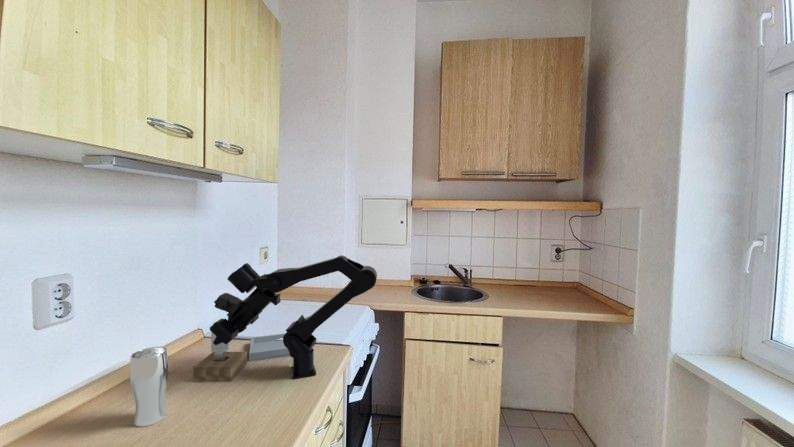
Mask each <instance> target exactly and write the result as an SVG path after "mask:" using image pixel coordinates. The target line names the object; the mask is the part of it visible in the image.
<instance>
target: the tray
mask: <svg viewBox="0 0 794 447" xmlns="http://www.w3.org/2000/svg"><path fill="white" fill-rule="evenodd" d="M285 334H286V333H285V332H283V333H279V334H278V333H277V334H269V335H261V336H253V337H251V338H250V347H249V353H248V360H249V362H254V361H256V362H257V361H261V360H268V359H277V358H283V357H289V356H290V353H289V351H288V348H286V347H285V345H284V343H283V341H276V340H277V339H280V338H283V337H284V335H285ZM290 357H291V356H290Z"/></svg>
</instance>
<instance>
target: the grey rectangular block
mask: <svg viewBox="0 0 794 447" xmlns="http://www.w3.org/2000/svg"><path fill="white" fill-rule="evenodd" d="M210 332H211V331H210ZM215 338H216V335H215V334H214V333H212V332H211V339H210V341H211V343H210V344H211V347H210V348H211V350H210V351H211V353H212V352H214V361H225V355H226V352H228V350H229V343H228V344H224V343H220V344H218V345H214V344H213V342H214V340H215Z"/></svg>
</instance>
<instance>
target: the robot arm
mask: <svg viewBox="0 0 794 447" xmlns="http://www.w3.org/2000/svg"><path fill="white" fill-rule="evenodd" d="M335 272H339V273H341V274H343V275H344V276H345V277H346V278H347V279H349V280H350V281H349V282H348V283H347V284H346V286H344V287H343V288H341V289H340V291H339V292H337V293H336V294H335V295H334V296H332V297H331V298H330V299H329V300H328V301H326V302H325V303H324V304H323V305H322V306H320V308H317V310H316V311H314V312H313V313H312V314H311V315H309V316H306V317H305V316H304V315H303V314H301V315H300V316H299V317H298V319H297V320H295V321H292V322H291V324H290V325H289V326H288V327H287V328H286V329H285V332H286V334H285V335H284V337H283V343H284V345H285V347H286V348H288V351H289V353H290V358H292V367H291V368H290V369H291V378H292V379H293V380H294V379H299V378H306V377H312V376H316V375H317V371H316V368H315V364H314V362H315V361H314V360H315V359H314V358H315V357H314V350H315V349H314V346H315V345H316V343H317V340H318V339H317V338H316V337H315V335H313V333H314V332H315V331H316V330H317V328H318V327H320V326H321V325H323V323H325V322H326V321H327V320H329V319H330V318H331V317H332V316H333V315H335V313H337V312H338V311H339V310H340V309H342V308H343V307H344V306H345V305H346V304H348V302H350V301H351V300H352V299H353V298H356V297H358V296H360V295H363V294H364V293H366V292H368V291H370V290H371V289H373V288H374V287H375V285H376V283H377V280H378V272H377V270H376V269H375V268H374V267H372V266H370V265H363V264H361V263H359V262H357V261H355V260H352V259H351V258H348V257H347V256H345V255H342V254H341V255H338V256H336V257H332V258H329V259H325V260H323V261H319V262H316V263H315V262H314V263H312V264H308V265H304V266H301V267H287V268H279V269H276V270H274V271H272V272H270V273H267V274H266V273H264V274H262V275H260V274H259V273H257V272H256V270H254V269H253V267H252V265H250V264H249V263H247V262H246V263H244V264H243V265H242V266H241V267H239V268H237V269H236V270H235V271H232V272H231V274H230V275H228V277H227V281H228V282H229V283H231V285H233V287H234V288H236V289H237V290H238V292H239V293H240V294H245V293H246V294H249V293H250V292H251V293H250V294H249V295H248V296H247V297H246V298H244V299H243V300H242V299H240V298H239V297H237V296H236V295H233V294H231V293H229V292H224V293H221V295H218V297H217V299H215V300H214V302H213V303H214V308H215V309H218V310H221V311H224V312H225V313H226V316H227V318H220V319H218V320H217V321H215V322H214V323H212V325H211V326H209V331H210V332H212V333H214V334H215V335H216V338H215V340H214V342H213V344H214V345H218V344H220V343H224V344H228V345H229V344H230V342H231V341H233V340H234V339H235V338H237V336H239V334H240V333H242V332H244V331H245V330H247V327H248V326H249V325H253V324H254V323H256V321H257V320H258V319H259V315H260V314H261V313H262V312H263V310H265V309H266V308H267V307H268V306H269V305H270V303H272V304H273V305H274V306H278V304H280V303H281V292H282V291H284V290H286V289H288V288H291V287H293V286H294V285H296V284H298V283H300V282H304V281H307V280H311V279H315V278H317V277H322V276H325V275H329V274H333V273H335ZM279 292H280V293H279Z"/></svg>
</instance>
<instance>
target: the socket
mask: <svg viewBox="0 0 794 447" xmlns="http://www.w3.org/2000/svg"><path fill="white" fill-rule="evenodd" d="M247 352H248V351H226V355H225V361H214V352H211V353H210V354H209V355H207V356H206V357H205V358H204V359H202V360H201V361H199V363H197V364H196V365H194V367H193V382H194V383H196V382H197V383H201V382H204V383H205V382H207V383H210V382H211V383H212V382H213V383H214V382H215V383H216V382H219V383H220V382H228V383H230V382H232V381H233V380H234V379H235V378H236V377H237V376H238V375H239V374H240V373H241V371H242V370H243V369H244V368H245V367H246V366H247V365H248V364H247V363H248V362H247V361H248V356H247V355H248V353H247Z"/></svg>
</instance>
